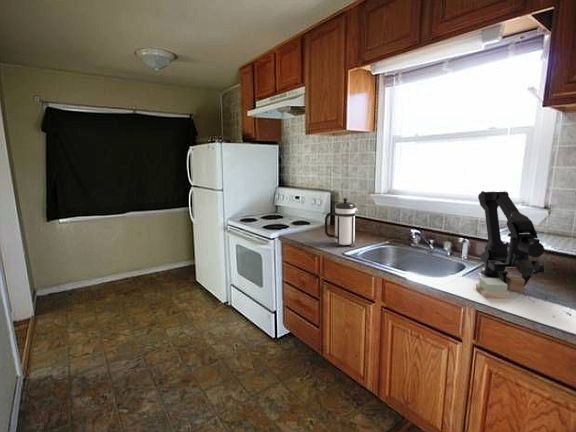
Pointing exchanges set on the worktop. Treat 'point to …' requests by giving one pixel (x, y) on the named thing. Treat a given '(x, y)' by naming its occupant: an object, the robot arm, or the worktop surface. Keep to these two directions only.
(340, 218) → the coffee press
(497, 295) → the birch base block
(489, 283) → the sage top block
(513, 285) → the walnut cube
